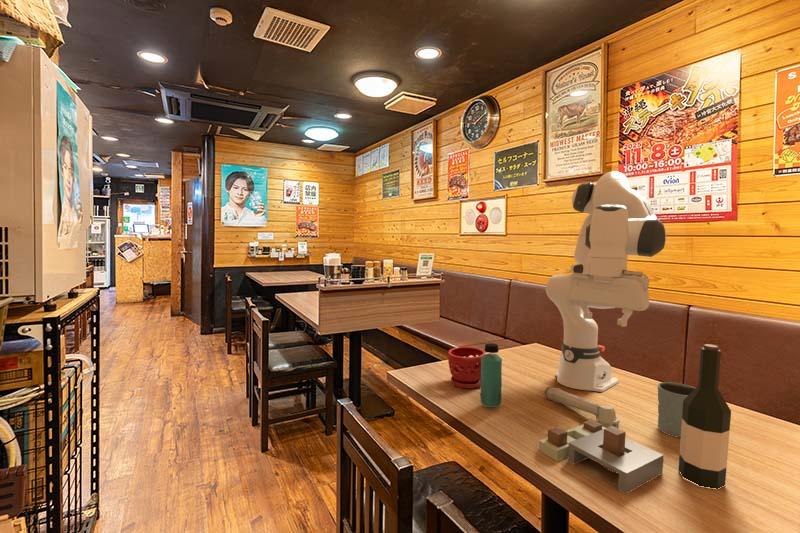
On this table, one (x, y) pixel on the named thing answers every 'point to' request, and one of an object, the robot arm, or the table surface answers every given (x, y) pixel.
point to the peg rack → (563, 450)
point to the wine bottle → (705, 426)
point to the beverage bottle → (491, 377)
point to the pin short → (592, 426)
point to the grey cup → (671, 406)
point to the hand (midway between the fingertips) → (604, 322)
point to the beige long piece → (585, 406)
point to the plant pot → (465, 366)
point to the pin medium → (557, 436)
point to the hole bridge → (619, 460)
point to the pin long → (614, 441)
